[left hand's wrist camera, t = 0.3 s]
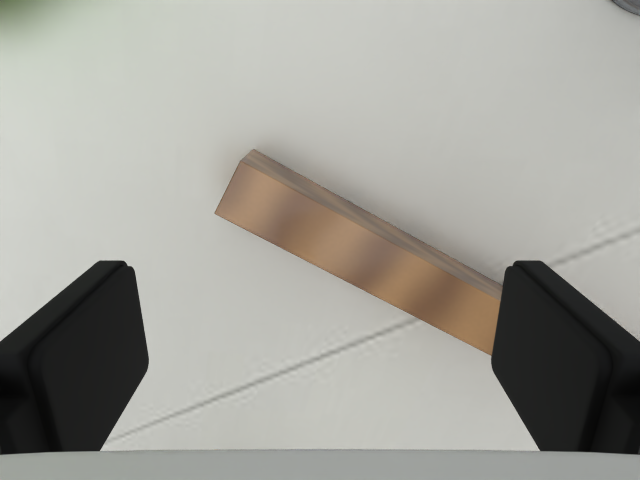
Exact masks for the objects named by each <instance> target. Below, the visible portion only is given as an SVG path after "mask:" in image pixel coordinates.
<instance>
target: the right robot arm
mask: <svg viewBox="0 0 640 480" xmlns="http://www.w3.org/2000/svg"><path fill="white" fill-rule="evenodd" d="M613 1H614V2H615V3H616V4H618V5H619V6H620V7H622V8H624V9H626V10H627V11H629V12H632V13H634V14H637V15H640V0H613Z"/></svg>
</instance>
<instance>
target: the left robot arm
mask: <svg viewBox="0 0 640 480" xmlns="http://www.w3.org/2000/svg"><path fill="white" fill-rule="evenodd" d="M148 364H149V357H148V350H147V344H146V338H145V332H144V326H143V319H142V313H141V307H140V301H139V295H138V288H137V282H136V276H135V271H134V269H133V267H131V266H127V264H126V262H124V261H98V262H97V263H96V264H94V265H93V266H92V267H91V268H89V269H88V270H87V271H86V272H85V273H83V274H82V275H81V276H80V277H78V278H77V279H76V280H75V281H74V282H72V283H71V284H70V285H69V286H67V287H66V288H65V289H64V290H63V291H61V292H60V293H59V294H58V295H57V296H55V297H54V298H53V299H52V300H50V301H49V302H48V303H47V304H46V305H44V306H43V307H42V308H41V309H39V310H38V311H37V312H36V313H35V314H33V315H32V316H31V317H30V318H28V319H27V320H26V321H25V322H24V323H22V324H21V325H20V326H19V327H18V328H16V329H15V330H14V331H13V332H11V333H10V334H9V335H8V336H7V337H5V338H4V339H3V340H2V341H0V480H640V341H638V340H637V339H636V338H635V337H633V336H632V335H631V334H630V333H629V332H627V331H626V330H625V329H624V328H622V327H621V326H620V325H619V324H618V323H616V322H615V321H614V320H613V319H612V318H610V317H609V316H608V315H607V314H605V313H604V312H603V311H602V310H601V309H599V308H598V307H597V306H596V305H594V304H593V303H592V302H591V301H590V300H588V299H587V298H586V297H585V296H583V295H582V294H581V293H580V292H579V291H577V290H576V289H575V288H574V287H573V286H571V285H570V284H569V283H568V282H566V281H565V280H564V279H563V278H562V277H560V276H559V275H558V274H557V273H555V272H554V271H553V270H552V269H551V268H549V267H548V266H547V265H546V264H544V263H543V262H542V261H516V262H514V264H513V266H509V267H507V269H506V271H505V276H504V282H503V288H502V294H501V301H500V307H499V313H498V319H497V326H496V332H495V338H494V344H493V350H492V357H491V364H492V369H493V372H494V374H495V375H496V377H497V379H498V380H499V382H500V384H501V385H502V387H503V389H504V391H505V392H506V394H507V396H508V397H509V399H510V401H511V402H512V404H513V406H514V407H515V409H516V411H517V412H518V414H519V416H520V418H521V419H522V421H523V423H524V424H525V426H526V428H527V429H528V431H529V433H530V434H531V436H532V438H533V439H534V441H535V443H536V445H537V446H538V448H539V450H540V451H499V450H362V449H278V450H141V451H100V450H101V448H102V446H103V445H104V443H105V441H106V439H107V438H108V436H109V434H110V433H111V431H112V429H113V428H114V426H115V424H116V423H117V421H118V419H119V418H120V416H121V414H122V412H123V411H124V409H125V407H126V406H127V404H128V402H129V401H130V399H131V397H132V396H133V394H134V392H135V391H136V389H137V387H138V385H139V384H140V382H141V380H142V379H143V377H144V375H145V374H146V372H147V369H148Z"/></svg>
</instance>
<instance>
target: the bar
mask: <svg viewBox="0 0 640 480" xmlns="http://www.w3.org/2000/svg"><path fill="white" fill-rule="evenodd" d="M215 214H216V215H218V216H220V217H222V218H224V219H226V220H228V221H230V222H232V223H234V224H236V225H238V226H240V227H242V228H244V229H245V230H247V231H249V232H251V233H253V234H255V235H257V236H259V237H261V238H263V239H265V240H267V241H269V242H271V243H273V244H275V245H277V246H279V247H281V248H283V249H284V250H286V251H288V252H290V253H292V254H294V255H296V256H298V257H300V258H302V259H304V260H306V261H308V262H310V263H312V264H314V265H316V266H318V267H320V268H321V269H323V270H325V271H327V272H329V273H331V274H333V275H335V276H337V277H339V278H341V279H343V280H345V281H347V282H349V283H351V284H353V285H355V286H357V287H358V288H360V289H362V290H364V291H366V292H368V293H370V294H372V295H374V296H376V297H378V298H380V299H382V300H384V301H386V302H388V303H390V304H392V305H394V306H396V307H397V308H399V309H401V310H403V311H405V312H407V313H409V314H411V315H413V316H415V317H417V318H419V319H421V320H423V321H425V322H427V323H429V324H431V325H433V326H434V327H436V328H438V329H440V330H442V331H444V332H446V333H448V334H450V335H452V336H454V337H456V338H458V339H460V340H462V341H464V342H466V343H468V344H470V345H472V346H473V347H475V348H477V349H479V350H481V351H483V352H485V353H487V354H489V355H491V356H492V350H493V344H494V338H495V332H496V326H497V319H498V313H499V307H500V301H501V294H502V288H503V286H502V285H500V284H498V283H497V282H495V281H493V280H491V279H489V278H487V277H486V276H484V275H482V274H480V273H478V272H476V271H475V270H473V269H471V268H469V267H467V266H466V265H464V264H462V263H460V262H458V261H456V260H455V259H453V258H451V257H449V256H447V255H445V254H444V253H442V252H440V251H438V250H436V249H435V248H433V247H431V246H429V245H427V244H425V243H424V242H422V241H420V240H418V239H416V238H414V237H413V236H411V235H409V234H407V233H405V232H404V231H402V230H400V229H398V228H396V227H394V226H393V225H391V224H389V223H387V222H385V221H383V220H382V219H380V218H378V217H376V216H374V215H373V214H371V213H369V212H367V211H365V210H363V209H362V208H360V207H358V206H356V205H354V204H352V203H351V202H349V201H347V200H345V199H343V198H342V197H340V196H338V195H336V194H334V193H332V192H331V191H329V190H327V189H325V188H323V187H321V186H320V185H318V184H316V183H314V182H312V181H311V180H309V179H307V178H305V177H303V176H301V175H300V174H298V173H296V172H294V171H292V170H291V169H289V168H287V167H285V166H283V165H281V164H280V163H278V162H276V161H274V160H272V159H270V158H269V157H267V156H265V155H263V154H261V153H260V152H258V151H256V150H254V149H253V150H252V151H251V152H249V153H248V154H247V155H246V156H245V157H244V158H243V159H242V160H241V161H240V163H239V165H238V167H237V169H236V171H235V173H234V175H233V177H232V179H231V181H230V183H229V185H228V187H227V189H226V191H225V193H224V195H223V197H222V199H221V201H220V203H219V205H218V207H217V209H216V211H215Z"/></svg>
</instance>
